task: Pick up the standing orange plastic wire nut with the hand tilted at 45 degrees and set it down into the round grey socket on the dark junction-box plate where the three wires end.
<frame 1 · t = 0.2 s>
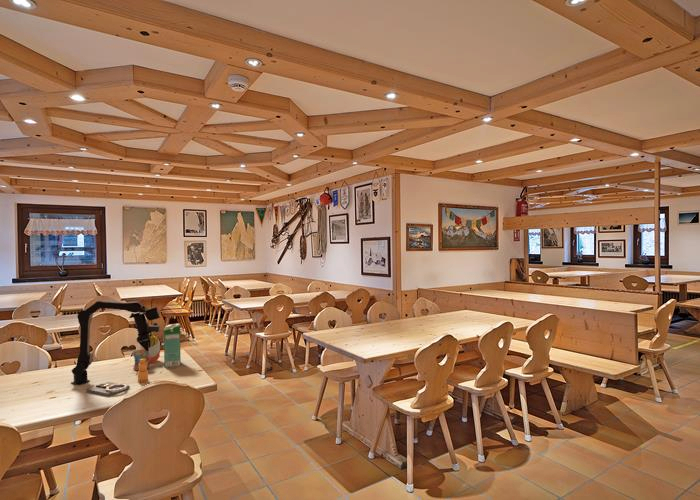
hand: (148, 349, 234), 15 cm above the table, tool pointing down, fingers open, 9 cm apart
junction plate: (108, 390, 212), on the table
mug: (142, 369, 247), on the table
wire nut: (143, 381, 226), on the table
milk carton: (172, 365, 256), on the table
french fries container: (150, 362, 261), on the table
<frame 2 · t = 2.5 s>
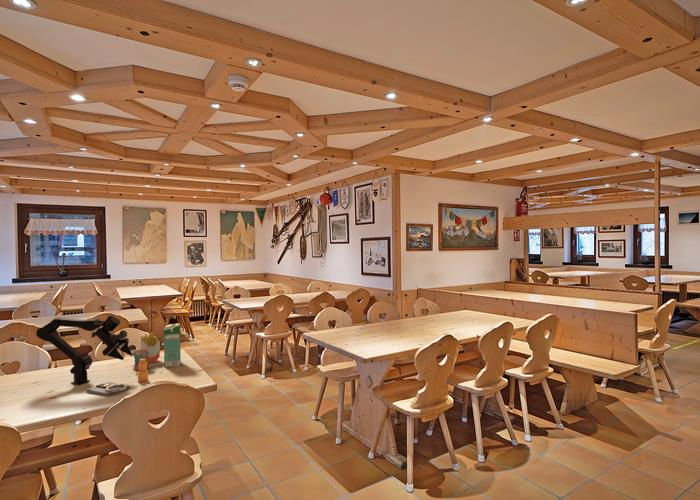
hand: (127, 357, 225), 13 cm above the table, tool tilted 45°, fingers open, 9 cm apart
nothing on the table moved.
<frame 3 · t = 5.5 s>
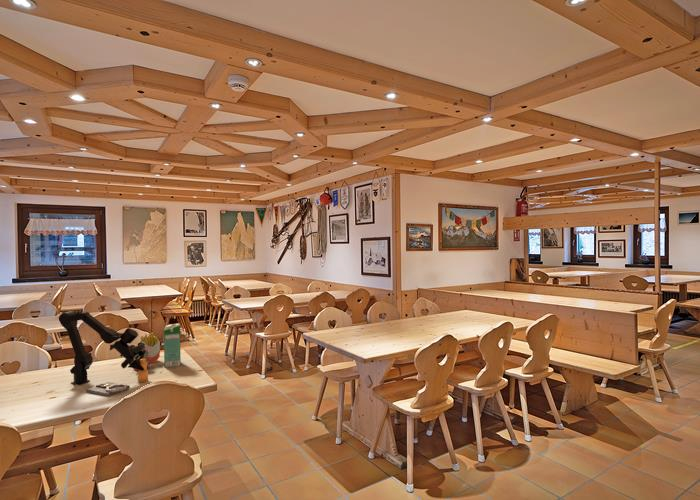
hand: (145, 369, 226), 7 cm above the table, tool tilted 45°, fingers closed on wire nut, 4 cm apart
wire nut: (143, 381, 226), on the table, touching gripper
everything else where it was.
when the fingers open (10 cm above the table, at t = 8.6 s): wire nut drops 2 cm, resting on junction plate.
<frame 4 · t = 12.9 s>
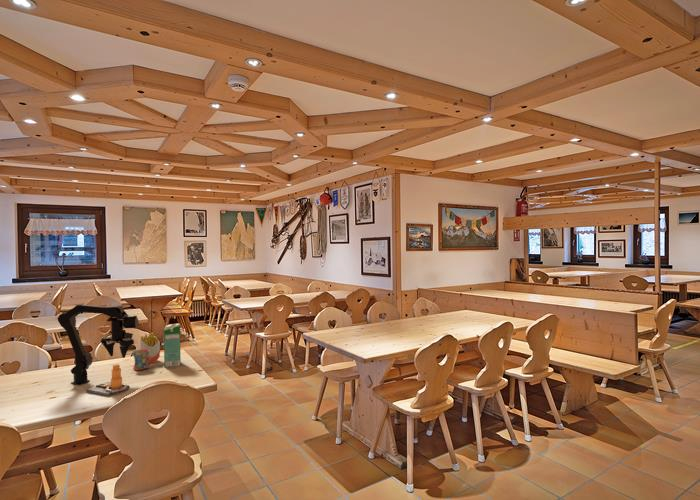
hand: (117, 356, 227), 13 cm above the table, tool pointing down, fingers open, 9 cm apart
wire nut: (116, 388, 210), point 2 cm above the table, touching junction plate
everything else where it was.
at the end: wire nut 0.0 cm from the target spot on the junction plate, point 1.5 cm above the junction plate's base; wire nut tilted 0°; the gripper is holding nothing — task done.
